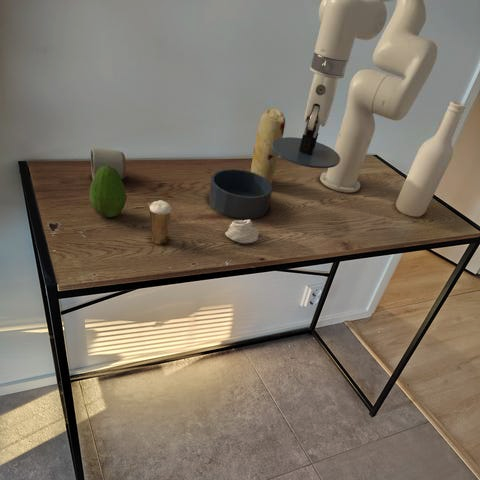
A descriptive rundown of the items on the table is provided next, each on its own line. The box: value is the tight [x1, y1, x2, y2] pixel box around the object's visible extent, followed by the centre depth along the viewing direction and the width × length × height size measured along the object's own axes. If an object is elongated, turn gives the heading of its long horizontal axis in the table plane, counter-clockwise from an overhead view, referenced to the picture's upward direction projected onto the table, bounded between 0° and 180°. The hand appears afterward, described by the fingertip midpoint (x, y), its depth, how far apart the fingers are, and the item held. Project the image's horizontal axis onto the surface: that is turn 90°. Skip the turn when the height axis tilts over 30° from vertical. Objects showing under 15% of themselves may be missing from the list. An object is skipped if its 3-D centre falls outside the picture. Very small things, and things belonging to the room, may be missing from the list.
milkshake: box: [145, 196, 172, 245], centre depth 94 cm, size 5×5×10 cm
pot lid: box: [272, 132, 340, 169], centre depth 105 cm, size 17×17×6 cm
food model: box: [250, 107, 286, 184], centre depth 121 cm, size 10×7×20 cm
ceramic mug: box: [90, 147, 127, 181], centre depth 113 cm, size 11×8×8 cm
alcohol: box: [395, 100, 467, 218], centre depth 120 cm, size 9×9×30 cm
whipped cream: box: [224, 219, 260, 245], centre depth 103 cm, size 8×7×5 cm
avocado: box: [89, 165, 128, 218], centre depth 98 cm, size 8×8×12 cm
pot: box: [208, 168, 273, 220], centre depth 114 cm, size 16×16×6 cm
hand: (306, 149), depth 106 cm, fingers closed on pot lid, 2 cm apart
